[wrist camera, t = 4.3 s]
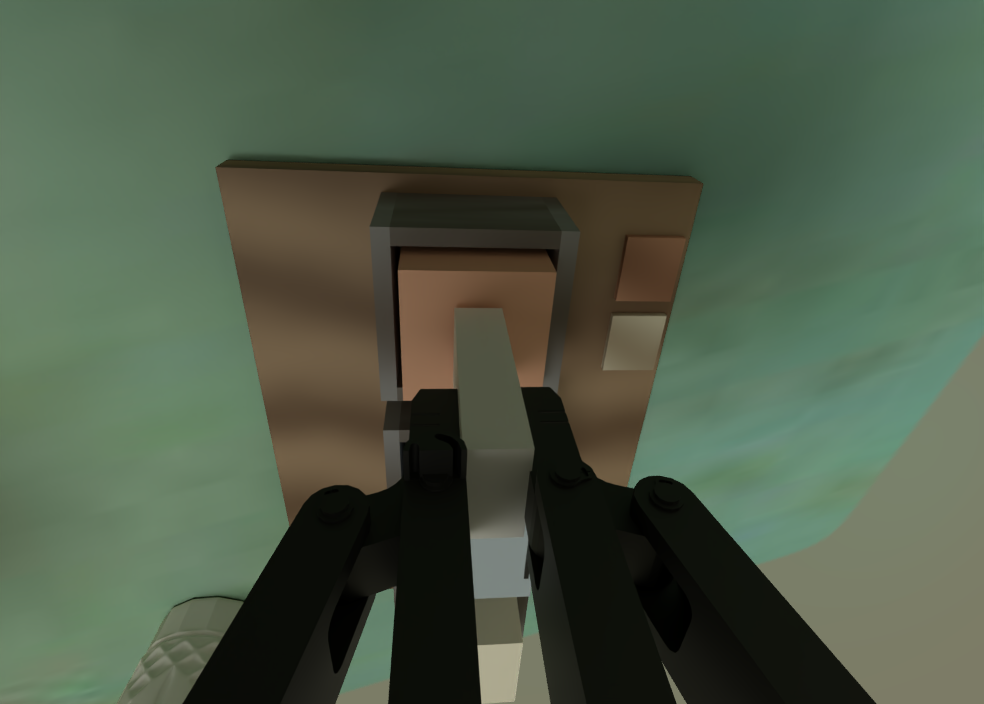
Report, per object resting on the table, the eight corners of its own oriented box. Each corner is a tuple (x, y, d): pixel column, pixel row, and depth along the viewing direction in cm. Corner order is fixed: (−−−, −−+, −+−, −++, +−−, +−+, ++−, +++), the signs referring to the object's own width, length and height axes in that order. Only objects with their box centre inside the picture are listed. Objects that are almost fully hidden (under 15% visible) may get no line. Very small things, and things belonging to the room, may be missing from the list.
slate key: (409, 422, 22) (402, 514, 18) (522, 420, 23) (542, 510, 19) (412, 503, 25) (406, 601, 21) (514, 500, 25) (529, 596, 21)
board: (226, 159, 20) (166, 198, 15) (690, 176, 22) (755, 214, 17) (307, 574, 32) (287, 661, 28) (598, 562, 34) (622, 642, 30)
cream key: (413, 549, 27) (409, 649, 22) (509, 545, 27) (523, 642, 23) (415, 608, 29) (411, 708, 25) (503, 604, 29) (514, 701, 25)
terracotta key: (405, 218, 20) (397, 270, 16) (531, 221, 21) (556, 272, 16) (409, 330, 23) (403, 400, 18) (521, 330, 23) (541, 399, 19)
